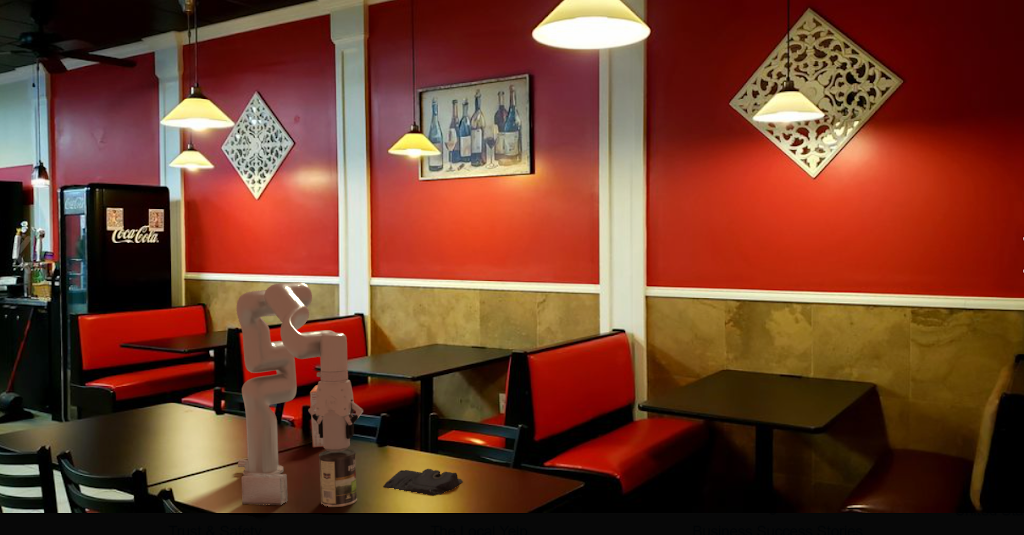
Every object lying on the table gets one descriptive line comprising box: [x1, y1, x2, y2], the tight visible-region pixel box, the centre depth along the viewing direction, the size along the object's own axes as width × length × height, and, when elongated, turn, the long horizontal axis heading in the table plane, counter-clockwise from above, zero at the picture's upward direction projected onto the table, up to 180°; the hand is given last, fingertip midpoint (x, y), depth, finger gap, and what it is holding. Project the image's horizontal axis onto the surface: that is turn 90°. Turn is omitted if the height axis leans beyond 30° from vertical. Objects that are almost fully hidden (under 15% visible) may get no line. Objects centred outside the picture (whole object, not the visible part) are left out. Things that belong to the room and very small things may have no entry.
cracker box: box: [309, 384, 324, 448], centre depth 299 cm, size 14×6×21 cm, turn 5°
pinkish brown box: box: [241, 473, 289, 506], centre depth 230 cm, size 12×4×8 cm, turn 78°
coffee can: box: [318, 448, 358, 508], centre depth 229 cm, size 10×10×14 cm
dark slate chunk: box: [382, 468, 464, 496], centre depth 243 cm, size 15×22×5 cm
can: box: [322, 410, 351, 452], centre depth 229 cm, size 8×8×12 cm
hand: (336, 436), depth 229 cm, fingers closed on can, 7 cm apart
